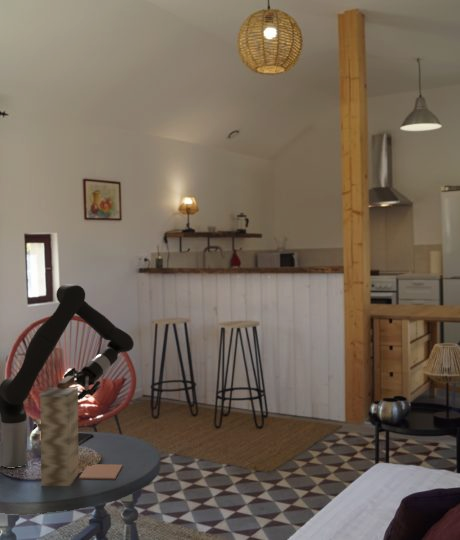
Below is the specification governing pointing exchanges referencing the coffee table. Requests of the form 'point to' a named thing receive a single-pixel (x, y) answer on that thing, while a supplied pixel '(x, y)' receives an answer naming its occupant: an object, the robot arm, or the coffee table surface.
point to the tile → (101, 471)
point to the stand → (59, 440)
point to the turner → (60, 389)
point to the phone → (83, 437)
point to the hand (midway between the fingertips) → (69, 393)
